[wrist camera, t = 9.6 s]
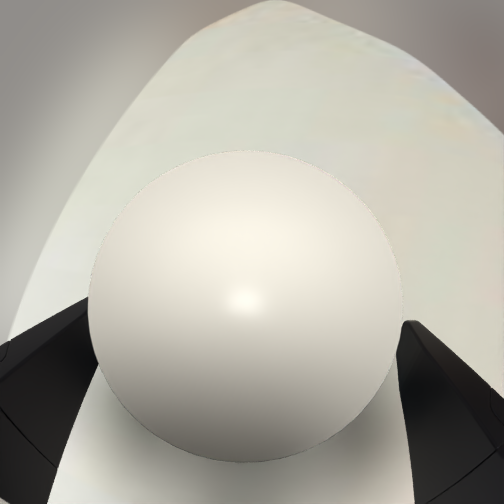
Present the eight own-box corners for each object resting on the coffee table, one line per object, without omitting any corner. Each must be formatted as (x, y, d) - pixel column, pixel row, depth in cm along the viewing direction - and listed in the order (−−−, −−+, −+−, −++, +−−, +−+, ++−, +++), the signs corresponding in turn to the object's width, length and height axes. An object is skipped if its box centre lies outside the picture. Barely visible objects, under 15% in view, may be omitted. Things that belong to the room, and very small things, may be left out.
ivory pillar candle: (283, 388, 16) (324, 501, 4) (199, 351, 17) (50, 367, 4) (318, 304, 17) (433, 215, 5) (235, 270, 18) (173, 121, 6)
